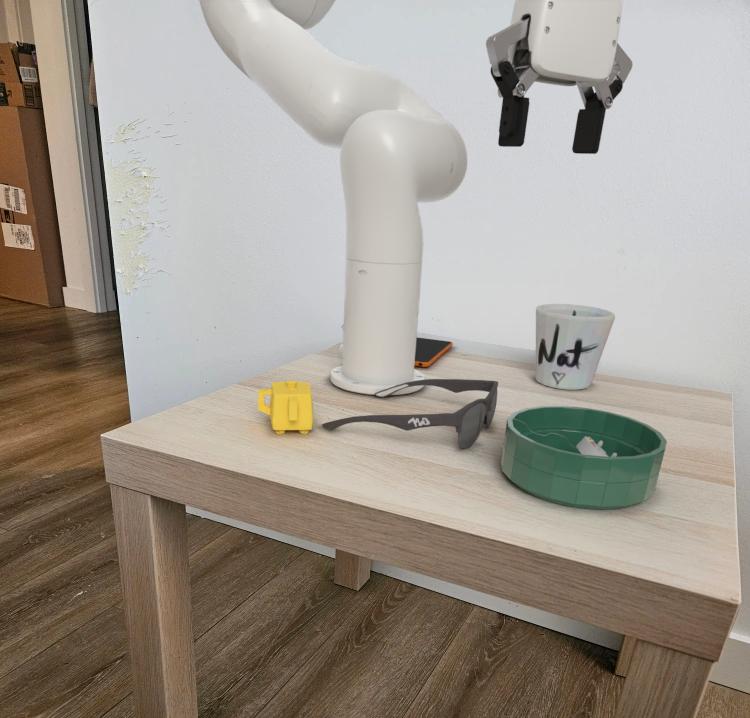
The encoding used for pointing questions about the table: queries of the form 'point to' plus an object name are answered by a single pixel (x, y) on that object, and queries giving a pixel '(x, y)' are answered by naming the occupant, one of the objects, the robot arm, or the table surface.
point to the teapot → (288, 406)
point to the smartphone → (429, 350)
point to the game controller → (589, 447)
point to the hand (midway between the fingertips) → (548, 149)
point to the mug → (570, 344)
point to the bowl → (582, 456)
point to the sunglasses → (463, 419)
